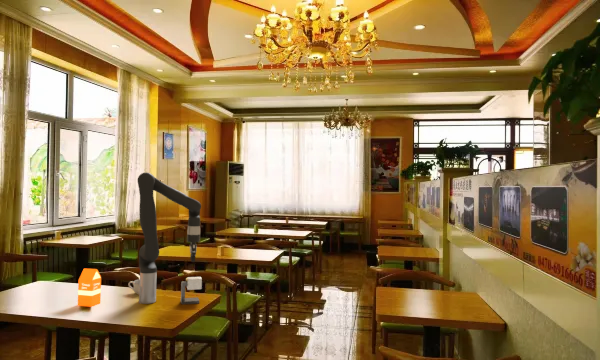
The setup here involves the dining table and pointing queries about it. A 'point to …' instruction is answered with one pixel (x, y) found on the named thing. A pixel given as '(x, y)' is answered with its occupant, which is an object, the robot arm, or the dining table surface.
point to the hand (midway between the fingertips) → (192, 260)
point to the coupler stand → (187, 300)
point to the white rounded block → (194, 283)
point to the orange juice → (89, 288)
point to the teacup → (135, 285)
